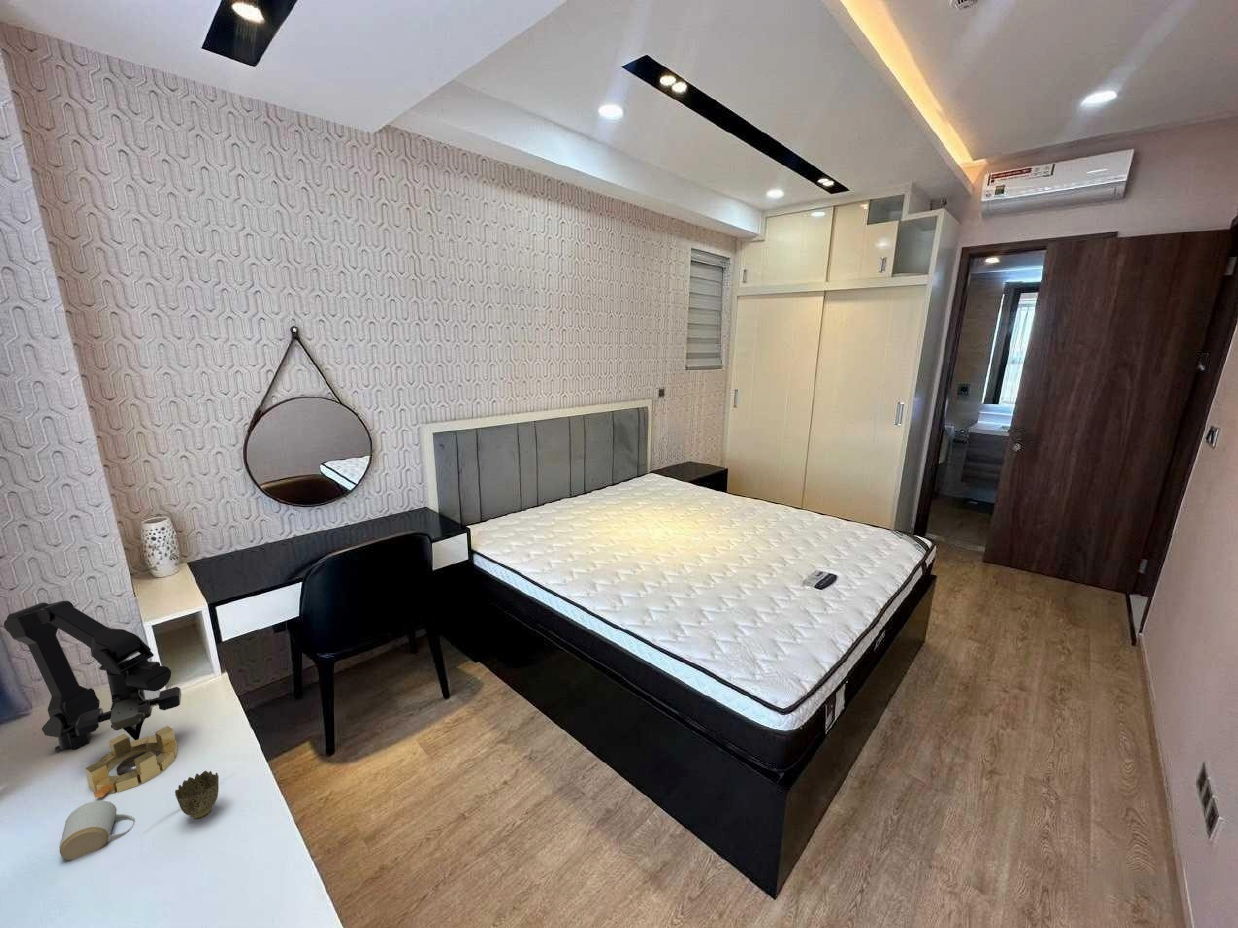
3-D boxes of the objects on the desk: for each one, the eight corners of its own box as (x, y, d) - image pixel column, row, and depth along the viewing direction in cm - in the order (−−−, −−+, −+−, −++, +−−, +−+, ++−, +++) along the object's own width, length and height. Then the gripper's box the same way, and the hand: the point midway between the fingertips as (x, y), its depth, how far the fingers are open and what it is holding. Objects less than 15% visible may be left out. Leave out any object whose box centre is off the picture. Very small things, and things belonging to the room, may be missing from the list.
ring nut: (72, 781, 120) (67, 761, 119) (158, 735, 135) (155, 718, 134) (102, 806, 114) (98, 786, 112) (189, 756, 128) (186, 737, 127)
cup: (231, 805, 116) (226, 775, 114) (195, 833, 109) (190, 802, 107) (208, 796, 118) (203, 766, 117) (172, 822, 111) (166, 792, 110)
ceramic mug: (60, 871, 101) (53, 839, 99) (69, 841, 107) (62, 810, 105) (133, 842, 107) (128, 811, 106) (137, 815, 113) (132, 785, 112)
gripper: (63, 718, 114) (77, 777, 117) (173, 687, 125) (183, 742, 128) (75, 692, 122) (87, 748, 126) (176, 665, 133) (185, 717, 137)
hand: (137, 739), depth 129 cm, fingers closed
